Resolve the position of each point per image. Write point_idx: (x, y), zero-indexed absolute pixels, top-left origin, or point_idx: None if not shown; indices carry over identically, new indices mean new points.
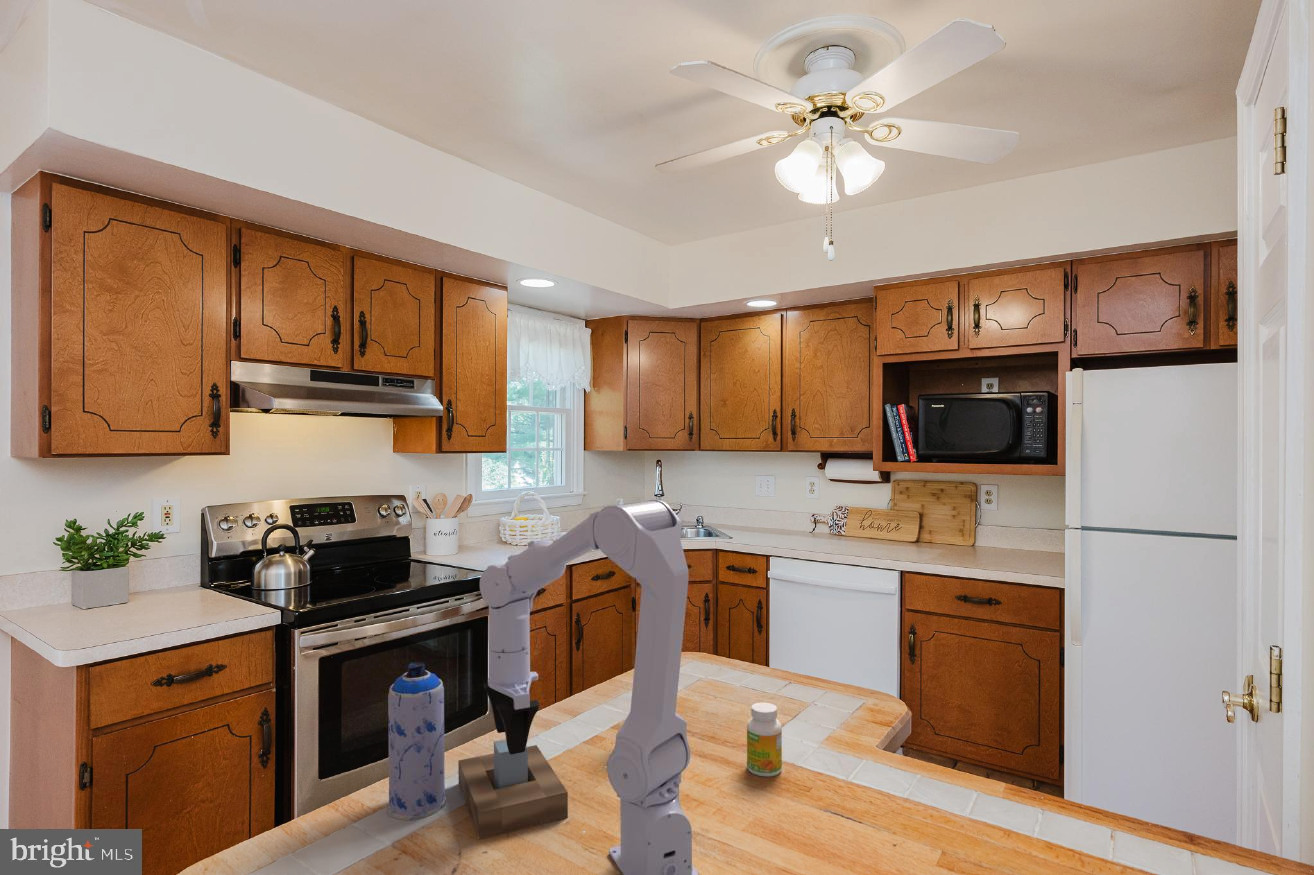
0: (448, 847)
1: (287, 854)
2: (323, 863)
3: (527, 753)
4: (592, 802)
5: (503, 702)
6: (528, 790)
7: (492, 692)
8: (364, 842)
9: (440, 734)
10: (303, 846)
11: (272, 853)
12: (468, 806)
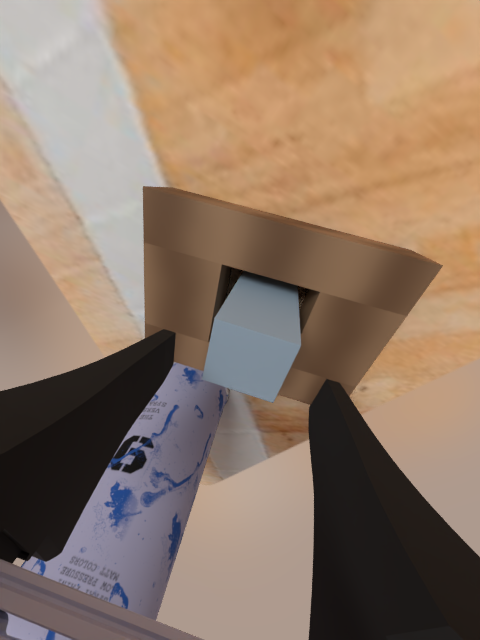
0: None
1: (216, 471)
2: (249, 466)
3: (300, 335)
4: (416, 156)
5: (106, 431)
6: (345, 327)
7: (69, 518)
8: (238, 440)
9: (172, 488)
10: (211, 462)
11: (208, 474)
12: None
